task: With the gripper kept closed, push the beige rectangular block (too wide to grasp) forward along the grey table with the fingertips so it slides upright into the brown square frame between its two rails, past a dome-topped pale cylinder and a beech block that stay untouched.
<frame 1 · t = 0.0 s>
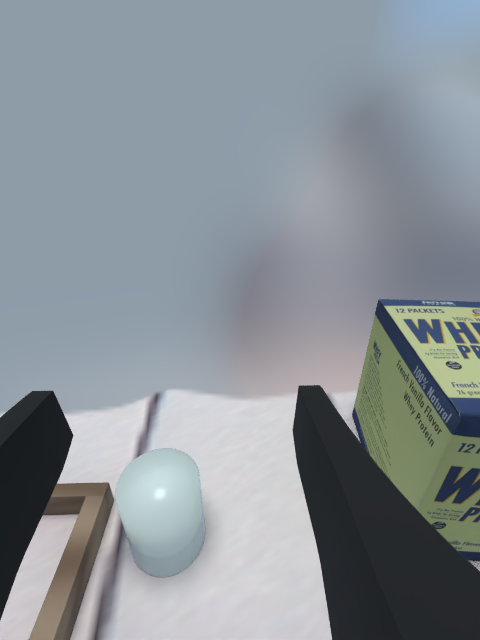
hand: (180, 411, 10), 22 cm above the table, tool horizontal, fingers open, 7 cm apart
protein box: (422, 475, 32), on the table
brown square frame: (8, 567, 25), on the table
dome-topped pale cylinder: (168, 535, 27), on the table
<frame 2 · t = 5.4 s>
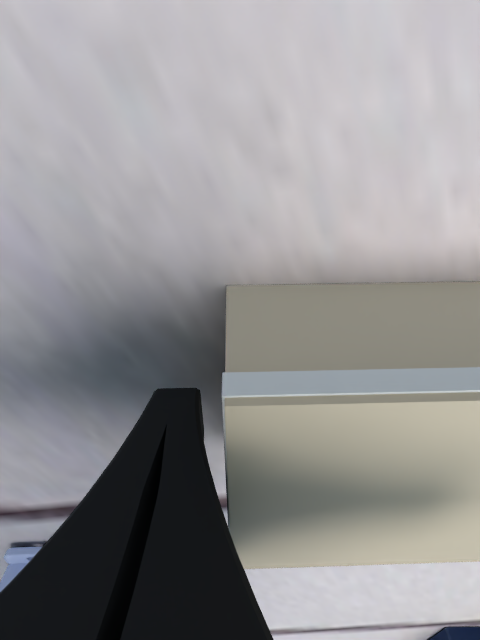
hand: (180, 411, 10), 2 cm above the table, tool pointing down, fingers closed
beige rectangular block: (372, 371, 11), on the table, touching gripper
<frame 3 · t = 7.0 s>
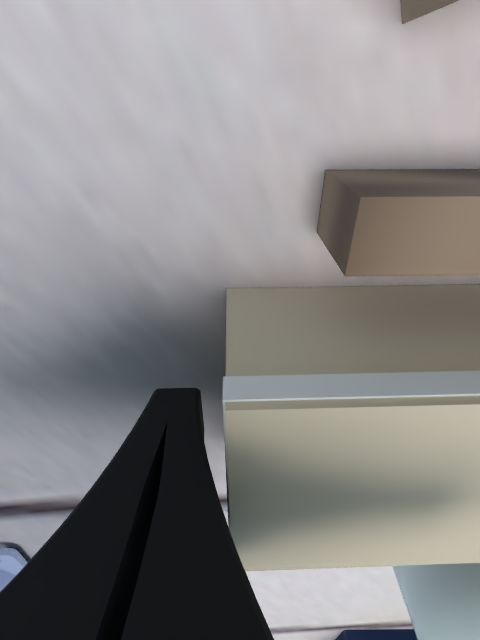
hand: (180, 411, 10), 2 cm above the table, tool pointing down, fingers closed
dome-topped pale cylinder: (437, 529, 18), on the table
beige rectangular block: (372, 373, 12), on the table, touching gripper
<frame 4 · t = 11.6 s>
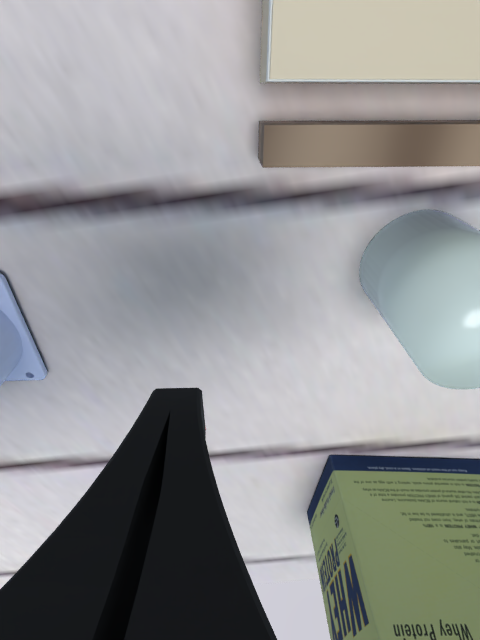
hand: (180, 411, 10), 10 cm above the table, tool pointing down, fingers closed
protein box: (390, 485, 33), on the table
dome-topped pale cylinder: (411, 262, 19), on the table
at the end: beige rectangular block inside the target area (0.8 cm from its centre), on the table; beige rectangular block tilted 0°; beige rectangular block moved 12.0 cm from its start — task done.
